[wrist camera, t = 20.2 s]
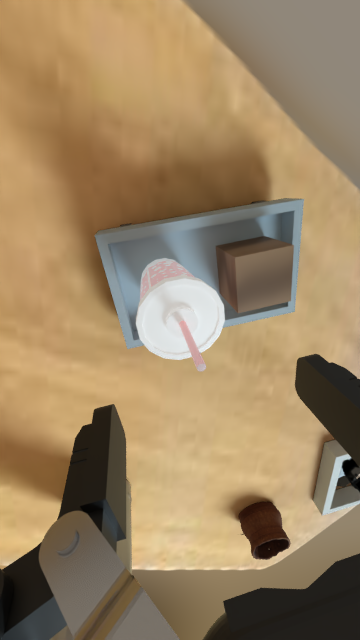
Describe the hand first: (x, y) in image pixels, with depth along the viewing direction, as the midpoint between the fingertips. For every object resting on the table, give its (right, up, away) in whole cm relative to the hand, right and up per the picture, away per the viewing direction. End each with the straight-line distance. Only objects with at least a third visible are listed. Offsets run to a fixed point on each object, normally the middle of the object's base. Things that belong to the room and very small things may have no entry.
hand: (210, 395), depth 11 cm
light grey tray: (+35, -27, +42) cm, 61 cm away
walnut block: (+5, +9, +15) cm, 18 cm away
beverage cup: (-3, +7, +14) cm, 16 cm away
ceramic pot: (+15, -38, +44) cm, 60 cm away
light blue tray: (+1, +9, +17) cm, 19 cm away
